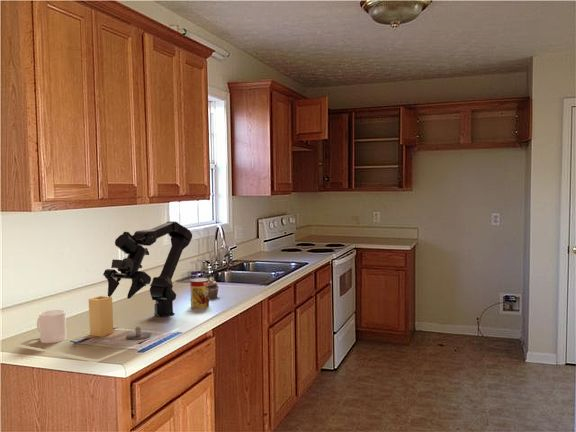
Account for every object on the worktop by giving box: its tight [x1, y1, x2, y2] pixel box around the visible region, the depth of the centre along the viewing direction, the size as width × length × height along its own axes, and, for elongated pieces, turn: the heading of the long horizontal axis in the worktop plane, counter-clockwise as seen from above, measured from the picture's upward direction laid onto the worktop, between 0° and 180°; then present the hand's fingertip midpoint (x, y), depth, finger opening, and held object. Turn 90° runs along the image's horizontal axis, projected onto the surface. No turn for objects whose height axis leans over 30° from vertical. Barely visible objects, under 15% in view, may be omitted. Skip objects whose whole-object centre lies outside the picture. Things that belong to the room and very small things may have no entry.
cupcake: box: [202, 275, 219, 300], centre depth 244 cm, size 10×10×10 cm
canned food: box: [189, 277, 210, 310], centre depth 225 cm, size 8×8×12 cm
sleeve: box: [88, 295, 114, 337], centre depth 183 cm, size 6×6×13 cm
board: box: [82, 325, 157, 345], centre depth 181 cm, size 23×11×4 cm, turn 74°
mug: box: [36, 309, 67, 344], centre depth 178 cm, size 12×8×10 cm
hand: (118, 297), depth 188 cm, fingers open, 9 cm apart
